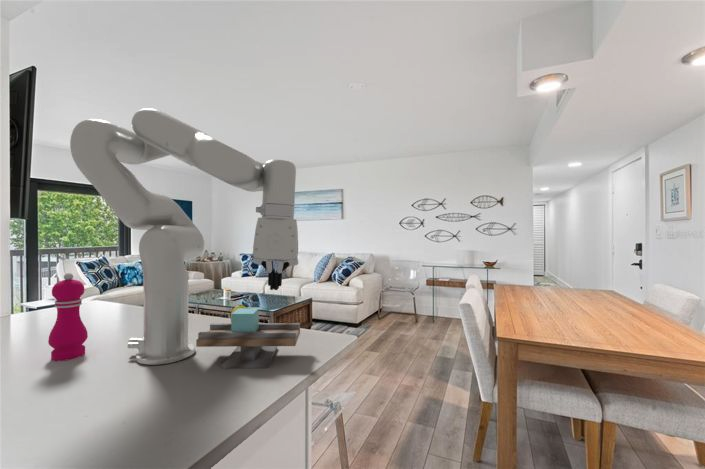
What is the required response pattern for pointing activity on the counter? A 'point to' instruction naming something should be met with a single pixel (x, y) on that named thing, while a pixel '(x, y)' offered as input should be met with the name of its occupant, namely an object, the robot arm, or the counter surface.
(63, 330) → the pepper mill
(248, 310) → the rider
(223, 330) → the wooden tray
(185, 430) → the counter surface
